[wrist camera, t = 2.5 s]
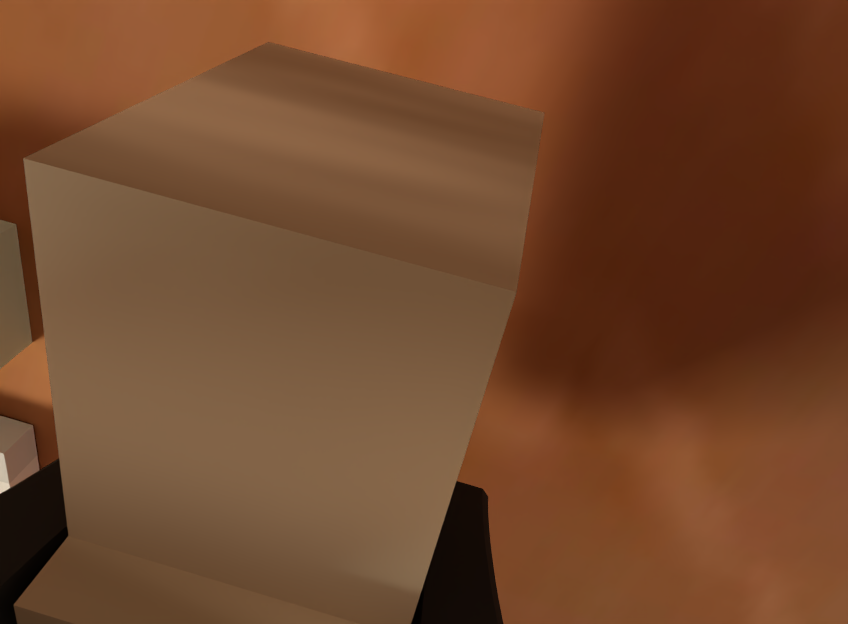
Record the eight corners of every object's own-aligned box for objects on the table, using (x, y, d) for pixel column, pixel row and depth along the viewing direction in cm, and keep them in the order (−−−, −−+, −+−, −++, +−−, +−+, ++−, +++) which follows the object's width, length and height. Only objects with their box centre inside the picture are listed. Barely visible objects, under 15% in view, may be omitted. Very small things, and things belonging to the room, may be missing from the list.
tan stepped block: (390, 635, 14) (304, 972, 10) (228, 586, 14) (72, 896, 10) (544, 113, 8) (505, 359, 4) (268, 42, 9) (-67, 202, 4)
